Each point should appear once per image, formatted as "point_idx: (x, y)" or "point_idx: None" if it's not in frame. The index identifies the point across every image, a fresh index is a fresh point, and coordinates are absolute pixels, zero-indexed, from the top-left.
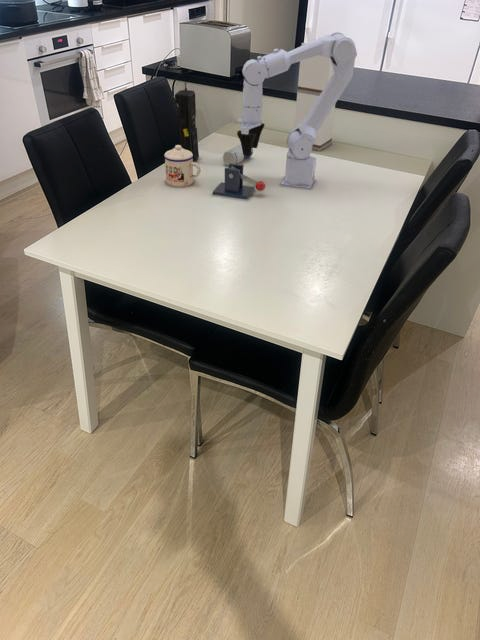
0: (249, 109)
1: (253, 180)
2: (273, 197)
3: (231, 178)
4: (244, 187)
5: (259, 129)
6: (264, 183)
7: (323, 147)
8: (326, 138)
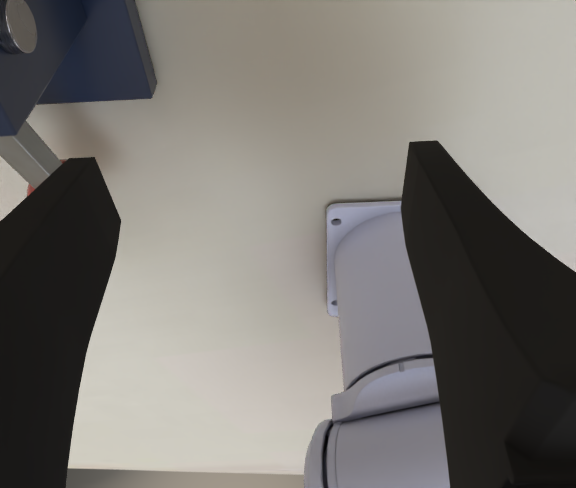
0: None
1: (36, 173)
2: (134, 208)
3: None
4: (91, 35)
5: (456, 458)
6: None
7: None
8: None
